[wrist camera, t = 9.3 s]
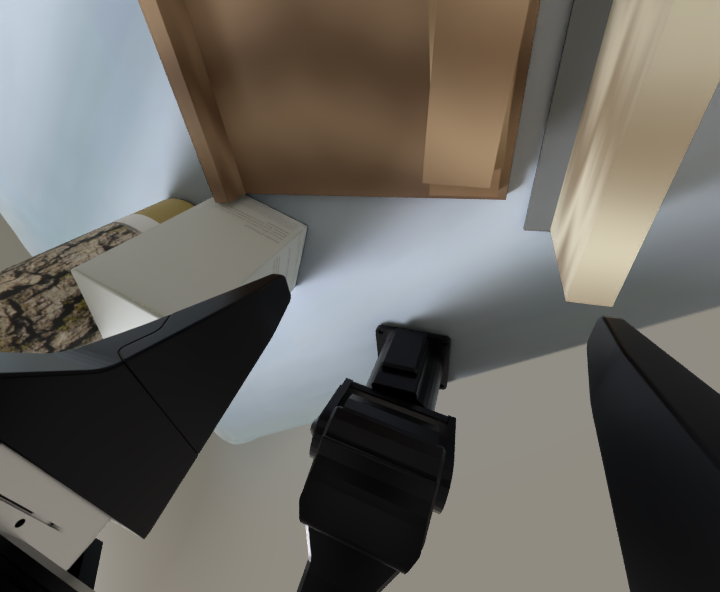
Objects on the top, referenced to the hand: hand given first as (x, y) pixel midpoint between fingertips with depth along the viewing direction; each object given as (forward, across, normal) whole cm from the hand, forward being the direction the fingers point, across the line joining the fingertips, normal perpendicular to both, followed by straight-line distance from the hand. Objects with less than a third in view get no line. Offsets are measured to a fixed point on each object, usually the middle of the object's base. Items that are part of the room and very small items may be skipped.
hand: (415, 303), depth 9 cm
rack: (+12, +7, -6) cm, 16 cm away
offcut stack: (+12, 0, -6) cm, 13 cm away
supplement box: (+13, +16, +6) cm, 21 cm away
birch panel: (+12, -6, -3) cm, 14 cm away
